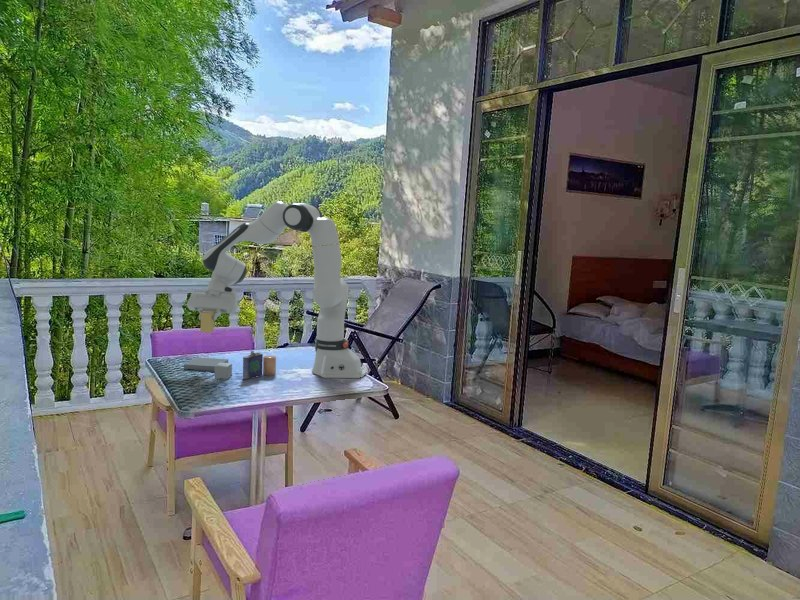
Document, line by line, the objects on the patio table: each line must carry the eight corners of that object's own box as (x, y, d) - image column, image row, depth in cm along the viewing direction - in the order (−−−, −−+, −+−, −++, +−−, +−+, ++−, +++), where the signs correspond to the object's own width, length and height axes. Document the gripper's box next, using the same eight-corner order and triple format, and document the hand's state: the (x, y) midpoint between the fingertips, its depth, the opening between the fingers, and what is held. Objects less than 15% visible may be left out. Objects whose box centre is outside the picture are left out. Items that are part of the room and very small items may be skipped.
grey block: (231, 375, 219) (231, 363, 219) (227, 379, 214) (227, 366, 214) (219, 374, 220) (219, 362, 219) (214, 378, 215) (214, 365, 214)
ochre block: (213, 331, 230) (214, 312, 229) (210, 332, 226) (210, 313, 225) (204, 330, 230) (204, 311, 229) (200, 332, 226) (200, 313, 225)
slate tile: (228, 363, 236) (228, 359, 236) (217, 371, 224) (217, 366, 224) (196, 361, 237) (196, 357, 236) (183, 369, 225) (183, 364, 224)
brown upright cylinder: (277, 372, 226) (277, 355, 225) (273, 375, 221) (273, 358, 220) (265, 371, 227) (265, 355, 226) (261, 375, 222) (261, 358, 221)
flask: (245, 380, 214) (245, 353, 212) (240, 378, 215) (240, 352, 214) (263, 375, 221) (264, 349, 220) (258, 374, 223) (259, 348, 222)
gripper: (190, 286, 233) (180, 312, 225) (238, 289, 232) (229, 316, 224) (195, 295, 238) (184, 321, 230) (241, 298, 237) (233, 325, 229)
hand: (207, 318), depth 227 cm, fingers closed on ochre block, 4 cm apart
